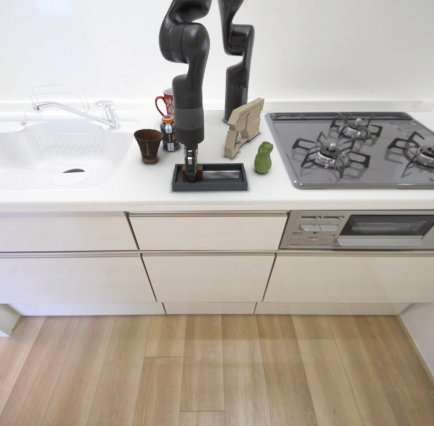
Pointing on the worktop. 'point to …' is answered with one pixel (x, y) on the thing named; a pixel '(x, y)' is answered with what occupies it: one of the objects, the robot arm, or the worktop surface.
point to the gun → (243, 125)
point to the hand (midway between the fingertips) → (192, 176)
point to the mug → (166, 102)
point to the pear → (263, 157)
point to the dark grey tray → (211, 184)
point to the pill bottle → (169, 133)
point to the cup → (148, 144)
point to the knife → (209, 174)
